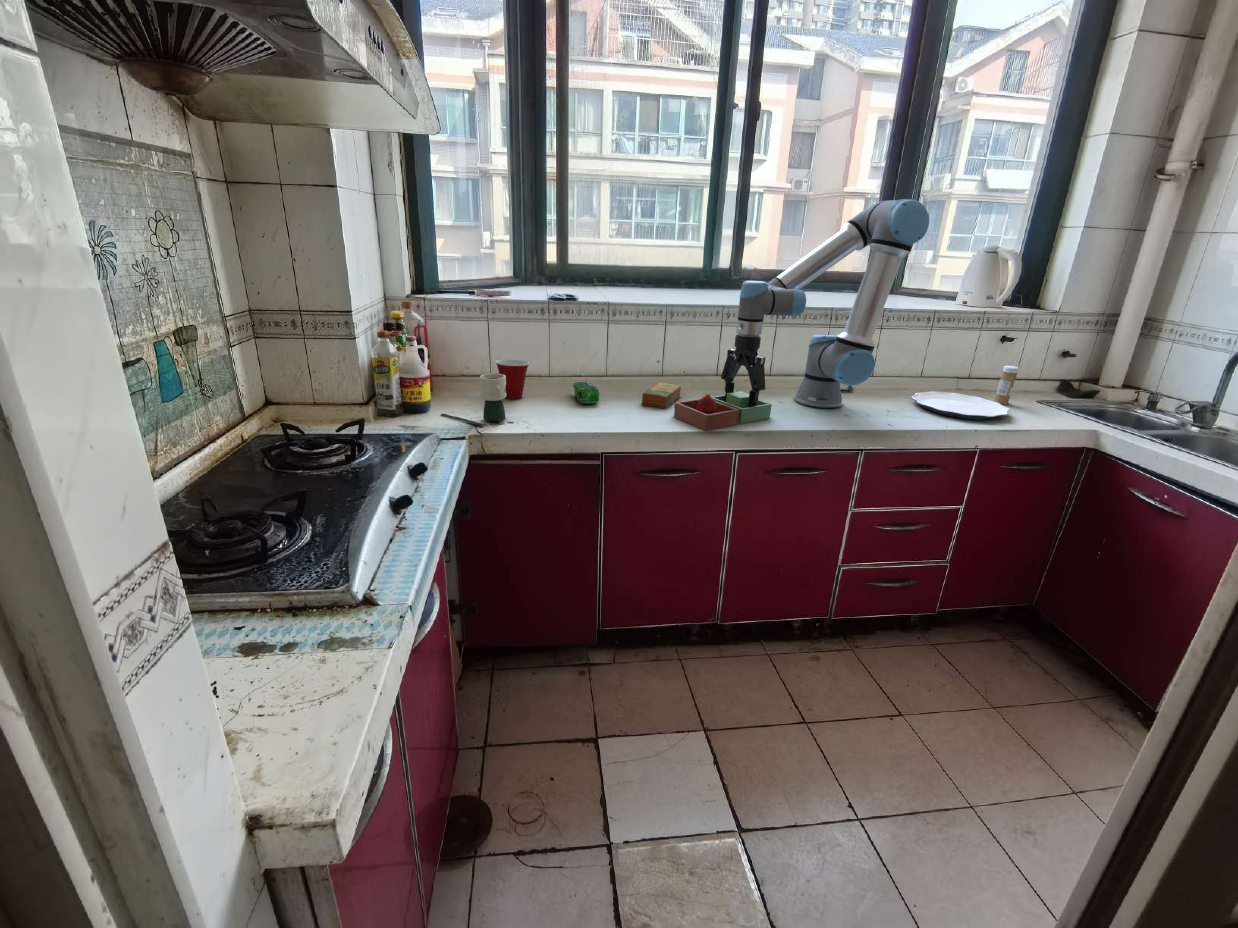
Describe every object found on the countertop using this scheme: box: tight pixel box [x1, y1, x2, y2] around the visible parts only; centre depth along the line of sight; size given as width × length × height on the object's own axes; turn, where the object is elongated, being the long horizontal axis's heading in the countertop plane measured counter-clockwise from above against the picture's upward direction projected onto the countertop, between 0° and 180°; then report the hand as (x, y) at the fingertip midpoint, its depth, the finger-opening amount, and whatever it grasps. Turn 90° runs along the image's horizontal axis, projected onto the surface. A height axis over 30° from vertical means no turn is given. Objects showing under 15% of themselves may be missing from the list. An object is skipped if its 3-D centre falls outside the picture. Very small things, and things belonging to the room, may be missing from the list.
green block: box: [726, 390, 749, 408], centre depth 185 cm, size 6×6×6 cm
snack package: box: [572, 381, 600, 405], centre depth 193 cm, size 7×16×5 cm, turn 12°
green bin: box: [711, 394, 772, 425], centre depth 186 cm, size 13×15×5 cm
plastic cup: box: [494, 359, 530, 400], centre depth 191 cm, size 11×11×12 cm
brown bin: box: [673, 398, 739, 431], centre depth 178 cm, size 13×15×5 cm
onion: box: [697, 392, 716, 415], centre depth 177 cm, size 6×6×8 cm
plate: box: [911, 390, 1011, 421], centre depth 203 cm, size 29×29×2 cm
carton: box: [641, 382, 682, 409], centre depth 196 cm, size 8×16×4 cm, turn 158°
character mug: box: [479, 373, 507, 423], centre depth 168 cm, size 11×7×13 cm, turn 31°
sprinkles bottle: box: [993, 365, 1020, 406], centre depth 211 cm, size 5×5×13 cm
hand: (739, 406), depth 185 cm, fingers open, 9 cm apart
